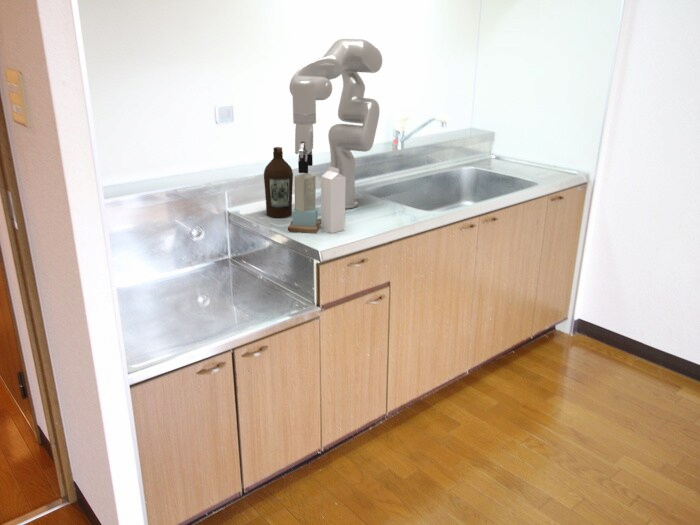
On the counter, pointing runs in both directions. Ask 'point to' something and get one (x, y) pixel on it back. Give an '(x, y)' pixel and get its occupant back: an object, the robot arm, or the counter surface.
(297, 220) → the brick
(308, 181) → the skincare box
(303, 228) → the board
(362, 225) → the counter surface
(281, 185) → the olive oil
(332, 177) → the milk
